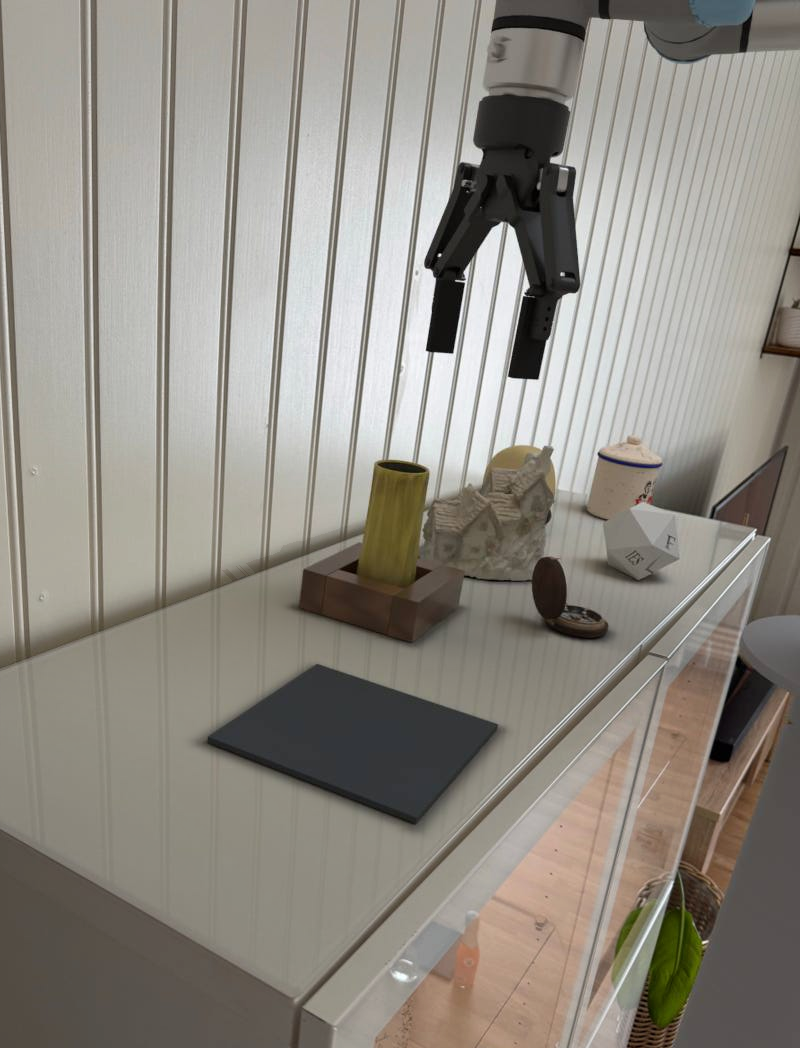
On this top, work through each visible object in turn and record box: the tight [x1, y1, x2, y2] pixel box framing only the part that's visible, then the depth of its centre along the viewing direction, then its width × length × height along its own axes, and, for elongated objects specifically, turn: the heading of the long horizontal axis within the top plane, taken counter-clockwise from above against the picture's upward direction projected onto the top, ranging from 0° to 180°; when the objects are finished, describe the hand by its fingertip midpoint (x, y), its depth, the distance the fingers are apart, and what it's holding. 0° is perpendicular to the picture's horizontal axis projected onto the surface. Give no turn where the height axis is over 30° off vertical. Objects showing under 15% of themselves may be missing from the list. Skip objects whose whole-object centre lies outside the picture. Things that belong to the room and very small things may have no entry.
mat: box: [206, 663, 499, 825], centre depth 71 cm, size 16×16×1 cm
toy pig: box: [482, 444, 556, 527], centre depth 129 cm, size 10×12×11 cm
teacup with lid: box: [586, 434, 663, 521], centre depth 140 cm, size 12×9×12 cm
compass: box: [531, 556, 609, 639], centre depth 96 cm, size 8×8×7 cm
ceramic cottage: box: [418, 445, 556, 582], centre depth 111 cm, size 16×16×15 cm
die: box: [602, 502, 681, 581], centre depth 115 cm, size 8×9×10 cm
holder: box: [298, 541, 465, 644], centre depth 95 cm, size 12×12×4 cm
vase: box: [356, 459, 431, 588], centre depth 93 cm, size 6×6×14 cm
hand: (478, 365), depth 87 cm, fingers open, 13 cm apart
